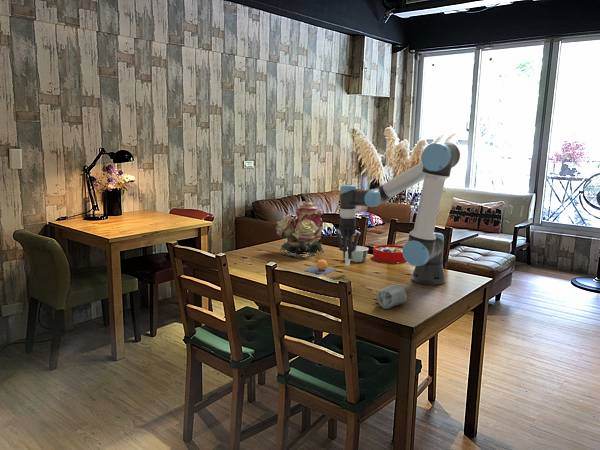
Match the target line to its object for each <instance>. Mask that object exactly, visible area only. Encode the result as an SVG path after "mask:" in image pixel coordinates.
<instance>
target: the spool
mask: <svg viewBox="0 0 600 450" xmlns="http://www.w3.org/2000/svg"><path fill="white" fill-rule="evenodd" d="M407 298H408V296H407V292H406V290H405V288H404V287H403V286H402V285H399V284H392V285H388V286H386V287H383V288H382V289H379V290H378V291H377V293H376V299H377V302H378V305H379V306H380V308H382V309H384V310H389V309H390V308H393V307H395V306H400V305H402V304H405V303H406V301H407Z"/></svg>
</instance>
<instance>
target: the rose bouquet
mask: <svg viewBox="0 0 600 450" xmlns="http://www.w3.org/2000/svg"><path fill="white" fill-rule="evenodd" d="M319 207H320V205H319V204H318V205H317V206H316V204H315V203H313V202H310V201H308V202H307V201H305V200H304V201H301V202H300V203H299V206H298V207H297V208H296V211H295V214H296V218H294V217H292V216H291V215H289V214H287V215H283V216H282V217H281V218H280V220H279V221H277V222H276V224H277V225H276V227H275V230H276V235H277V236H278V237H279V238H280V239H281V240H283V239H286V240H287V242H284V243H283V244H282V245H281V247H280V249H279V251H280V250H284V251H285V250H287V251H294V253H292V252H286V253H288V255H287V256H293V257H294V258H296V259H299V258H298V257H302V256H305V255H300V254H296V252H307V255H309V256H310V257H314V256H313V255H315V252H317V250H318V251H319V252H322V253H324V252H325V251H324V249H323V247H322V242H319V240H321V238H322V237H321V235H322V234H321V233H322V232H323V229H324V228H323V225H322V224H324V223H325V221H323V219H322V217H321V216H322V215H324V212H323V211H321V210H319ZM313 251H315V252H313Z"/></svg>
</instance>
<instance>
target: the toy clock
mask: <svg viewBox="0 0 600 450" xmlns="http://www.w3.org/2000/svg"><path fill="white" fill-rule="evenodd" d="M403 247H404V245H398V244H380V245H375V246H374V247H373V251H372V252H373V253H372V255H373V259H374V260H375V261H378V262H382V261H383V263H390V262H391V264H393V263H394V264H397V263H396V262H402V263H408V262H407V261H406V260H405V259H404V257H403V253H402V250H403Z"/></svg>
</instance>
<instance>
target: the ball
mask: <svg viewBox="0 0 600 450" xmlns="http://www.w3.org/2000/svg"><path fill="white" fill-rule="evenodd" d="M316 266H317V268H318V269H319V270H321V271H323V270H325V269H326V268H327V267H328V262H327V260H325V259H318V261H317V262H316Z"/></svg>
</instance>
